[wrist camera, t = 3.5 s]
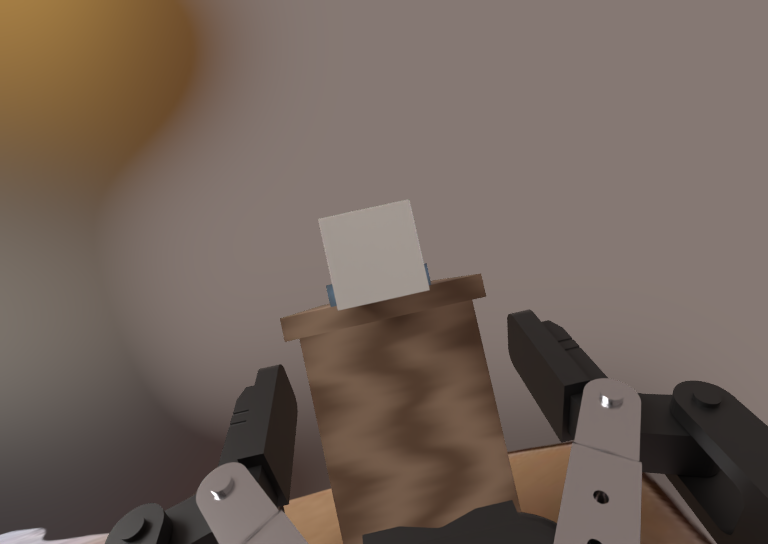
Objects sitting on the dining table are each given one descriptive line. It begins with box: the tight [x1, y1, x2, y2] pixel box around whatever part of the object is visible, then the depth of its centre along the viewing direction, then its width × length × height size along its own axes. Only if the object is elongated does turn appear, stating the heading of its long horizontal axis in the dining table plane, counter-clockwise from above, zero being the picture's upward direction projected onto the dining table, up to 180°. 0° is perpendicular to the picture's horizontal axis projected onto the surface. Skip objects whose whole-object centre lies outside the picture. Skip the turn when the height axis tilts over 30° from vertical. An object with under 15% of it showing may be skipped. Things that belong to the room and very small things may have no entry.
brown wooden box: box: [280, 264, 521, 544], centre depth 36 cm, size 14×20×34 cm
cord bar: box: [318, 199, 430, 311], centre depth 30 cm, size 4×26×4 cm, turn 1°
